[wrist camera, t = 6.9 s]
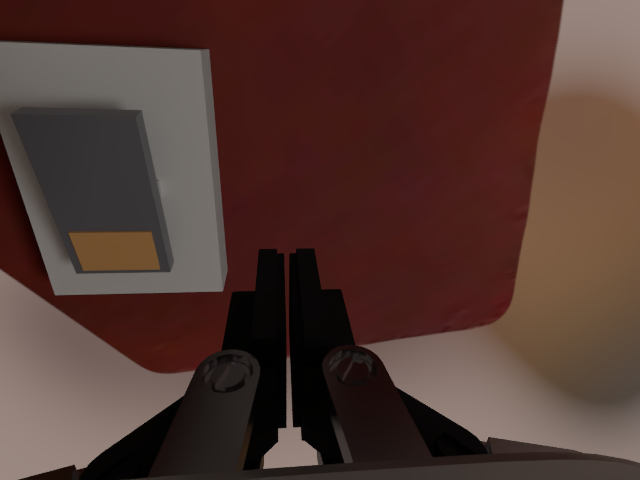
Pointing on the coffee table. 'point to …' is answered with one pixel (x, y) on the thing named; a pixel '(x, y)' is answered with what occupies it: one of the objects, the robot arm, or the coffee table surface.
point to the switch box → (164, 141)
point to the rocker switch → (98, 186)
